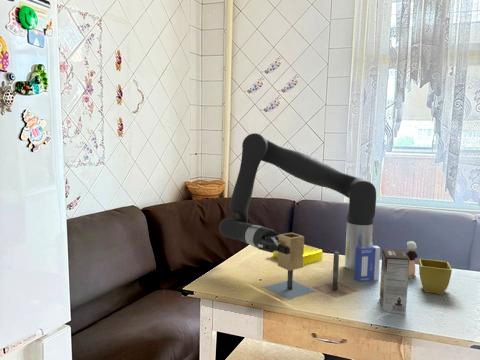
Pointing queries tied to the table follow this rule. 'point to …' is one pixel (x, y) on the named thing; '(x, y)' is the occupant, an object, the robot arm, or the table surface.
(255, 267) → the table surface
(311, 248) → the element tile
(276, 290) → the blue peg stand
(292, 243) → the bronze sleeve
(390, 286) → the coffee box
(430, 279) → the flower pot
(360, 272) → the walkman
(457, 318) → the table surface
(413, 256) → the grandmother figurine
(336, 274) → the walnut stand
